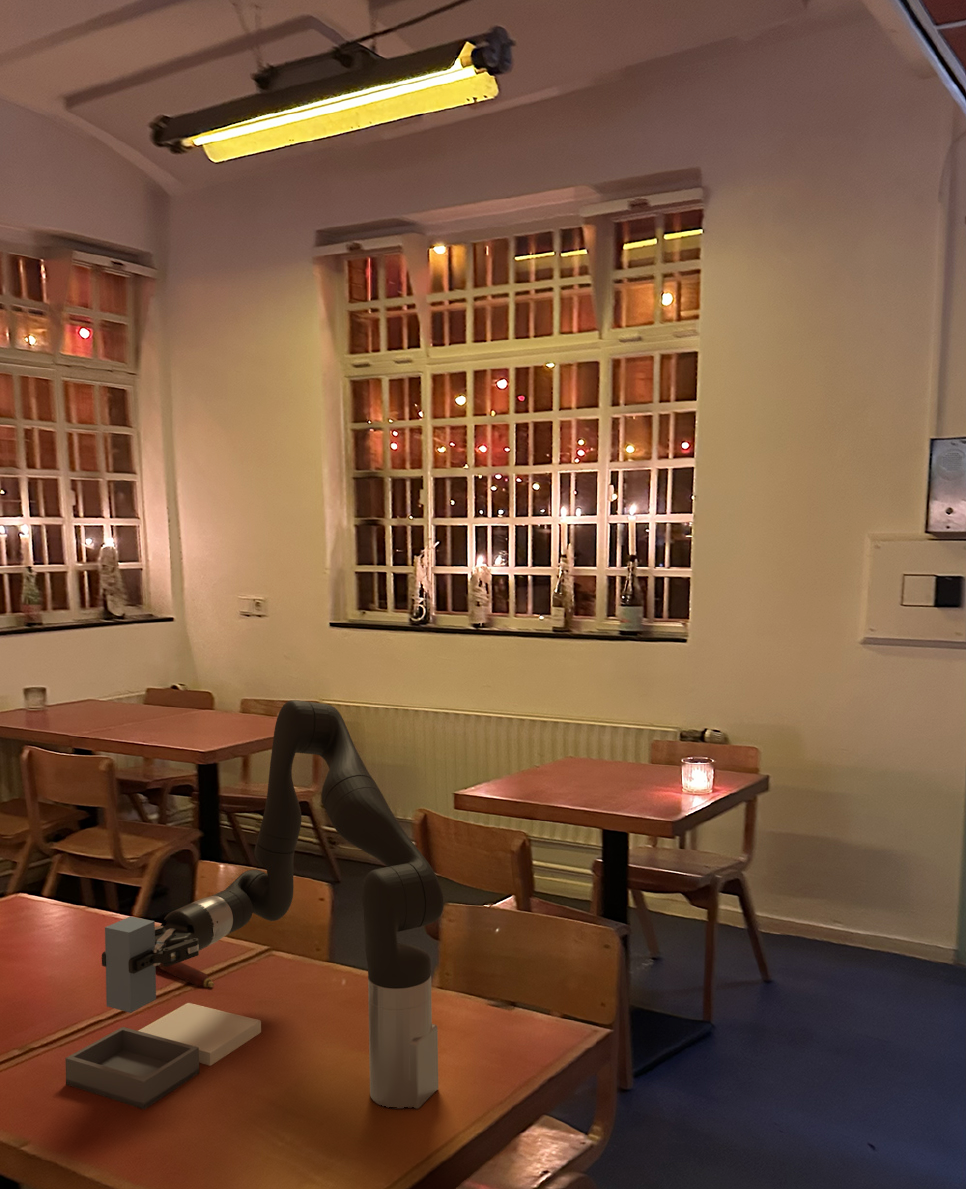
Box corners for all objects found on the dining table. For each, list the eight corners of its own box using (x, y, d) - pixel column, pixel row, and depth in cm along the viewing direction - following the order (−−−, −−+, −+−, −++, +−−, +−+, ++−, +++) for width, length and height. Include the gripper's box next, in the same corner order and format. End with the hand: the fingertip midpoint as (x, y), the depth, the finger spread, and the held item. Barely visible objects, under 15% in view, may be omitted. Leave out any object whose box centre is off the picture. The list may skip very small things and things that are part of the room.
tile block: (156, 999, 145) (154, 921, 145) (130, 1012, 141) (129, 932, 141) (132, 992, 148) (130, 916, 147) (106, 1006, 143) (104, 927, 143)
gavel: (234, 964, 180) (190, 982, 172) (233, 987, 181) (190, 1007, 172) (165, 933, 192) (121, 949, 184) (165, 956, 193) (121, 972, 184)
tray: (199, 1073, 146) (198, 1047, 146) (144, 1109, 136) (143, 1081, 136) (123, 1051, 153) (122, 1026, 153) (65, 1084, 143) (65, 1057, 143)
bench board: (260, 1032, 159) (260, 1020, 159) (210, 1065, 148) (210, 1052, 148) (188, 1014, 166) (188, 1002, 166) (135, 1044, 155) (135, 1032, 155)
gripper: (165, 896, 160) (82, 931, 145) (231, 909, 154) (151, 946, 138) (166, 940, 160) (83, 980, 145) (232, 955, 154) (152, 997, 139)
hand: (117, 963), depth 142 cm, fingers closed on tile block, 5 cm apart
